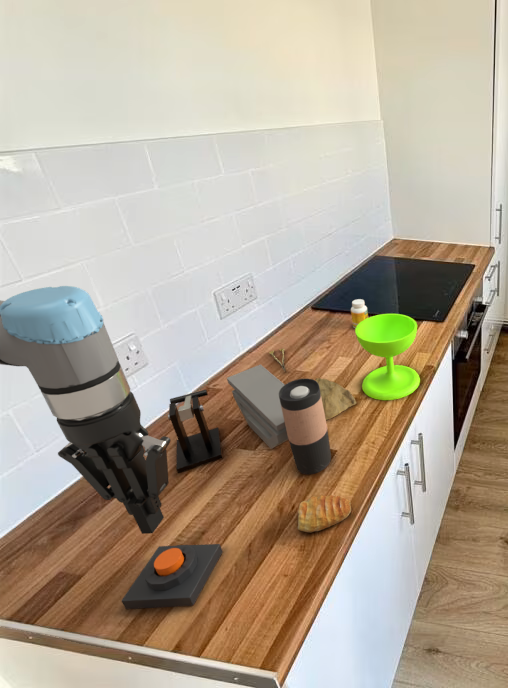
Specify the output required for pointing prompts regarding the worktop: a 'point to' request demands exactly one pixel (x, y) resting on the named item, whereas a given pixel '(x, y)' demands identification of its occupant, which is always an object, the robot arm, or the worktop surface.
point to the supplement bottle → (358, 312)
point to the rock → (334, 398)
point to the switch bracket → (195, 440)
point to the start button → (169, 562)
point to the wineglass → (388, 355)
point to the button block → (174, 579)
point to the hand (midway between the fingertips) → (153, 525)
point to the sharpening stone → (260, 403)
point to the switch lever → (187, 404)
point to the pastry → (322, 512)
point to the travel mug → (306, 425)
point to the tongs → (278, 360)
